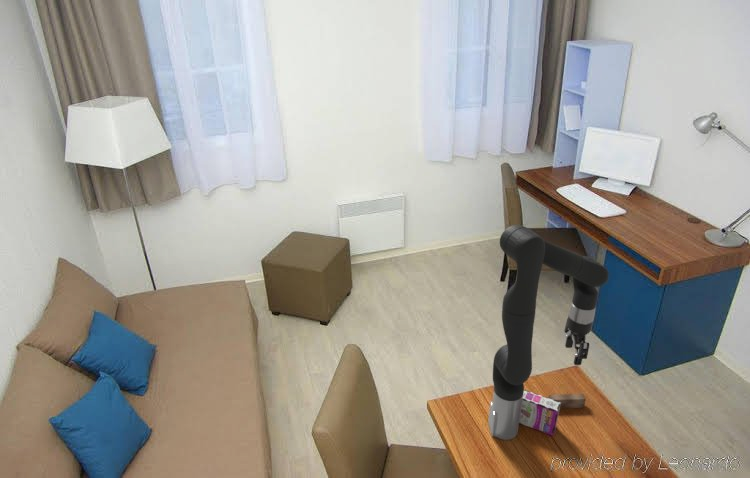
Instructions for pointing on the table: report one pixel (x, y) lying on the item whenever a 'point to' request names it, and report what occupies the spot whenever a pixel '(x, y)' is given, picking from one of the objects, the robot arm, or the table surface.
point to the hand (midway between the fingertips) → (572, 355)
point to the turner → (569, 400)
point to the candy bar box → (539, 412)
